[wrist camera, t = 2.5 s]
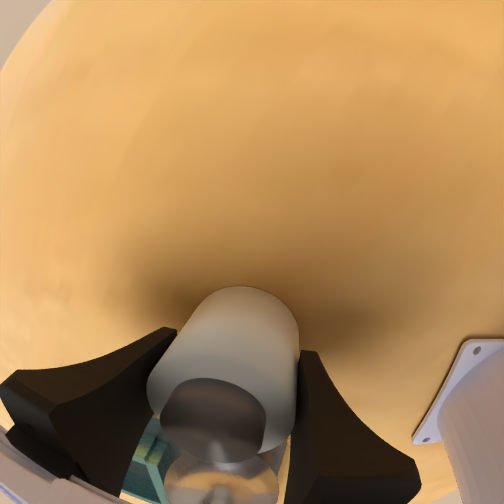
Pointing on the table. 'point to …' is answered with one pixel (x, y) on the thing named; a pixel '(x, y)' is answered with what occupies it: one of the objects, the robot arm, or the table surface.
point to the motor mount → (198, 474)
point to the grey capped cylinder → (229, 377)
